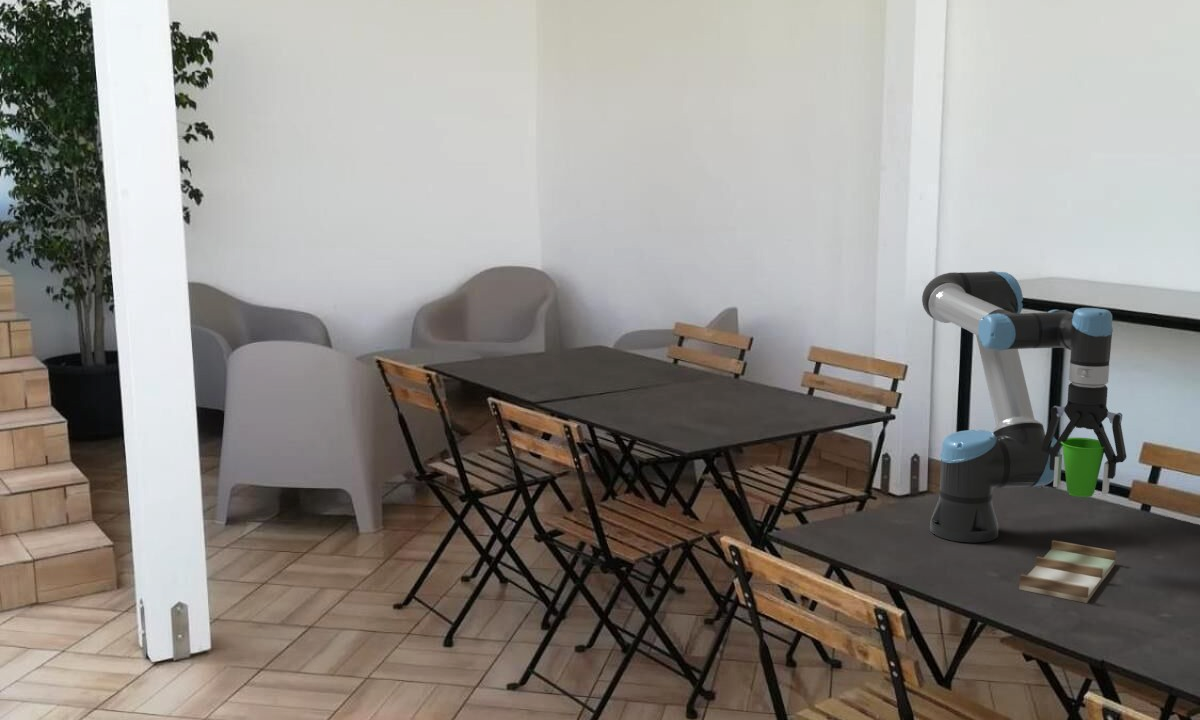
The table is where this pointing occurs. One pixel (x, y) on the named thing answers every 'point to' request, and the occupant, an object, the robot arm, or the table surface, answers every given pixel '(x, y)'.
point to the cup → (1082, 465)
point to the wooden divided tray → (1069, 571)
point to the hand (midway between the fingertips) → (1080, 489)
